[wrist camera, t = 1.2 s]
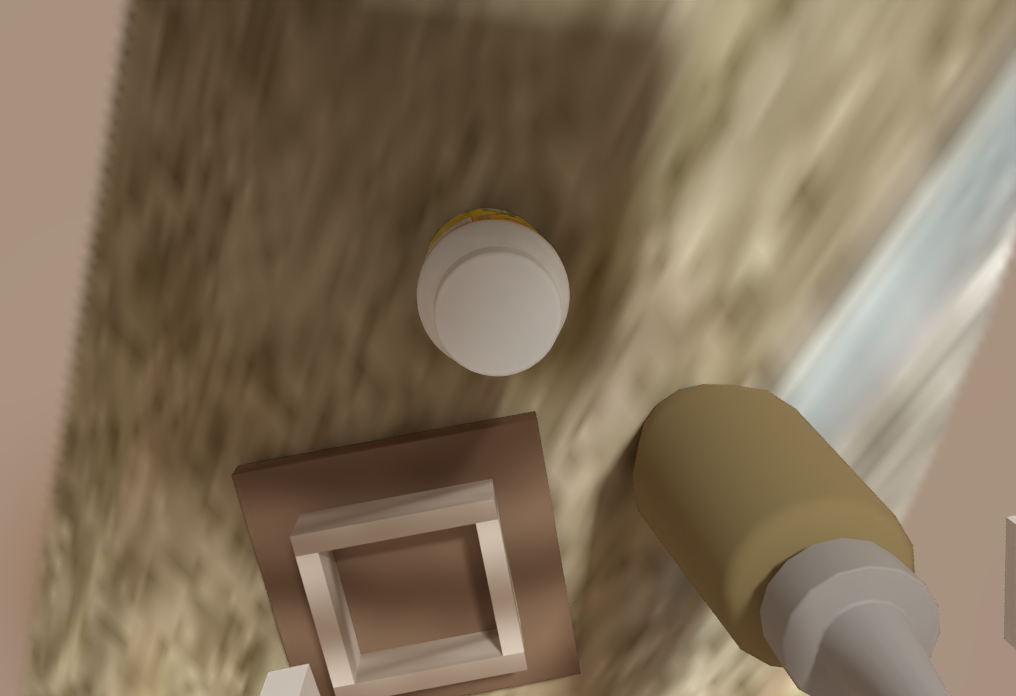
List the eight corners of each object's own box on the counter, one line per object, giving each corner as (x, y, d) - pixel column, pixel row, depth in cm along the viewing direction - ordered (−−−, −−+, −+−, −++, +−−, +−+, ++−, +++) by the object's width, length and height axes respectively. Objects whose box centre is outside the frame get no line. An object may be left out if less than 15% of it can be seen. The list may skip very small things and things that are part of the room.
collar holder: (238, 465, 32) (216, 495, 29) (534, 411, 33) (541, 435, 30) (312, 709, 36) (298, 757, 33) (577, 659, 36) (587, 703, 33)
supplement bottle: (400, 262, 30) (372, 306, 21) (493, 179, 30) (506, 188, 20) (481, 351, 32) (489, 430, 22) (572, 274, 31) (618, 322, 22)
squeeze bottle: (648, 541, 35) (833, 922, 17) (589, 402, 33) (731, 677, 15) (800, 478, 34) (1144, 803, 17) (750, 333, 32) (1085, 535, 15)
